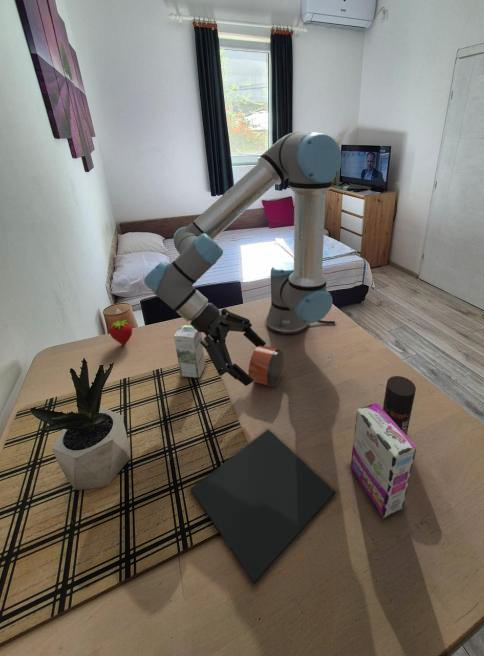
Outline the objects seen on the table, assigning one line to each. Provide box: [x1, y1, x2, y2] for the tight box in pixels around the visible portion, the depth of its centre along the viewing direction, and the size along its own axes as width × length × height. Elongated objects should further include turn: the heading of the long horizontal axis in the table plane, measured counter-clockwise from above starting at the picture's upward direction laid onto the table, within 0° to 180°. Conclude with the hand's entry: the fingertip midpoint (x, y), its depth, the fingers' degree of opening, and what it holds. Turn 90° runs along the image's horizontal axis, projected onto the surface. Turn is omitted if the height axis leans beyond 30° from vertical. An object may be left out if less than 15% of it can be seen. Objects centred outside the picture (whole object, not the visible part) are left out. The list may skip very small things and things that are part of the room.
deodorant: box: [382, 375, 417, 437], centre depth 73 cm, size 6×6×15 cm
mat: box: [190, 429, 336, 585], centre depth 64 cm, size 20×20×1 cm
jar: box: [247, 345, 285, 388], centre depth 91 cm, size 6×10×10 cm
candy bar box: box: [350, 402, 417, 519], centre depth 61 cm, size 11×5×16 cm, turn 23°
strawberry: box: [108, 319, 133, 346], centre depth 106 cm, size 6×8×10 cm
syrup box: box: [173, 324, 206, 379], centre depth 93 cm, size 6×6×14 cm
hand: (257, 364), depth 88 cm, fingers open, 14 cm apart
